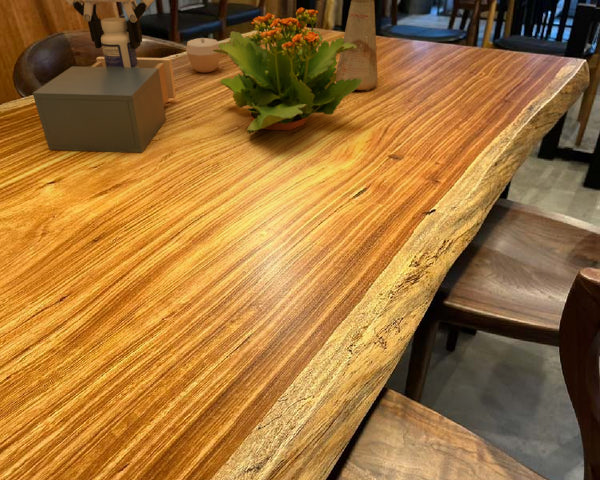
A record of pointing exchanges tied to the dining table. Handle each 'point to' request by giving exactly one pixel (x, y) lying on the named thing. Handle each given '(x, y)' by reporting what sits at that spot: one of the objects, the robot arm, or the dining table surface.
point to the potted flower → (286, 72)
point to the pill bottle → (117, 44)
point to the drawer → (164, 72)
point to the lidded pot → (203, 54)
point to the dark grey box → (101, 109)
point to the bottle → (360, 46)
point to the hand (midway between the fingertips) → (118, 45)
